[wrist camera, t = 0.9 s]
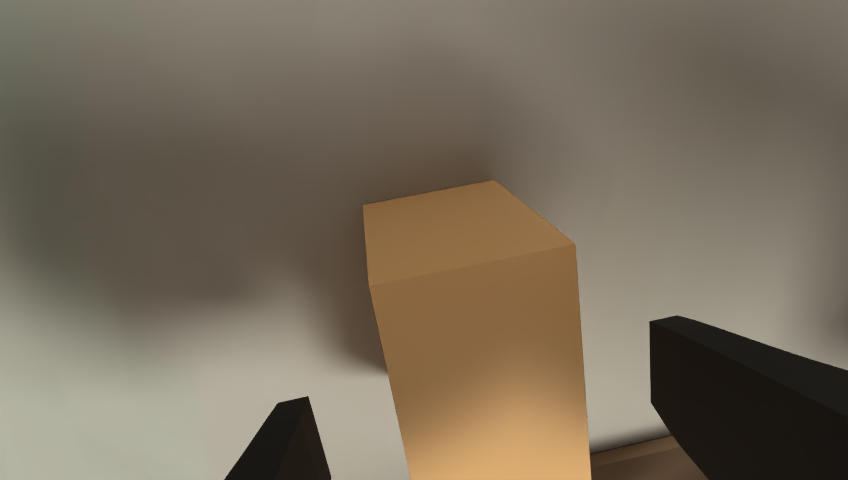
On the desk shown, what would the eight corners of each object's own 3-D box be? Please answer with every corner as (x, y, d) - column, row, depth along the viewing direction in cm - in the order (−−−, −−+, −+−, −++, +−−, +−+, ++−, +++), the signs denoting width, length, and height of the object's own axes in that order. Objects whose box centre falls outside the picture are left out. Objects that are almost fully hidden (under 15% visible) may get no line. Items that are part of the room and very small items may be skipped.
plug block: (493, 179, 16) (575, 243, 10) (514, 351, 18) (591, 486, 12) (362, 204, 15) (368, 285, 10) (398, 376, 17) (421, 526, 12)
